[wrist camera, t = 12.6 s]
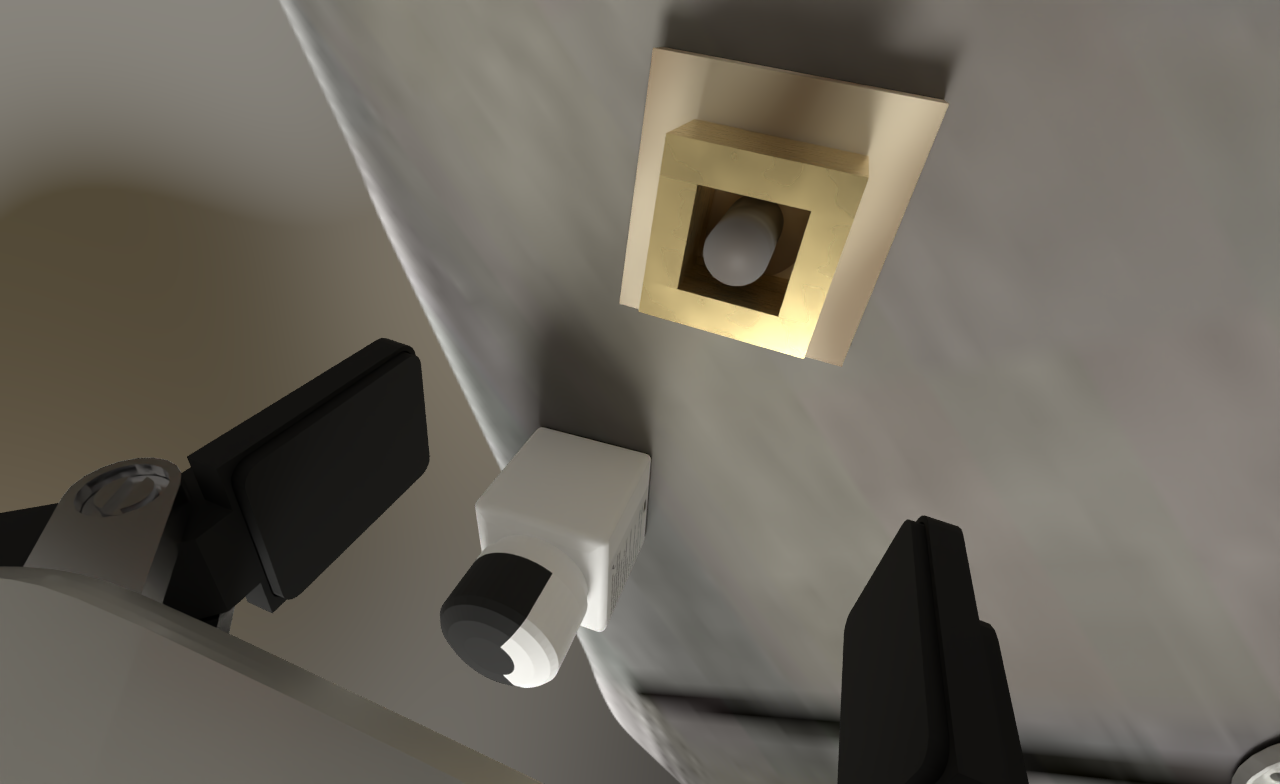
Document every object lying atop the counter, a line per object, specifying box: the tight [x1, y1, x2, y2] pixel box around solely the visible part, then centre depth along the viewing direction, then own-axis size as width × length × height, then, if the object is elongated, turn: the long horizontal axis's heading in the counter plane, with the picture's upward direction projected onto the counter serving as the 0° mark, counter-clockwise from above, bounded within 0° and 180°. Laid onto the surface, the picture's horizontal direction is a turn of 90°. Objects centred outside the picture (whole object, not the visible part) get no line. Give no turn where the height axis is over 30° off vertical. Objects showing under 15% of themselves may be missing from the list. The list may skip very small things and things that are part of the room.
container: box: [440, 427, 651, 688], centre depth 32 cm, size 8×8×13 cm
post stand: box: [619, 47, 949, 367], centre depth 23 cm, size 11×11×6 cm
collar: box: [639, 119, 869, 359], centre depth 22 cm, size 7×7×4 cm
